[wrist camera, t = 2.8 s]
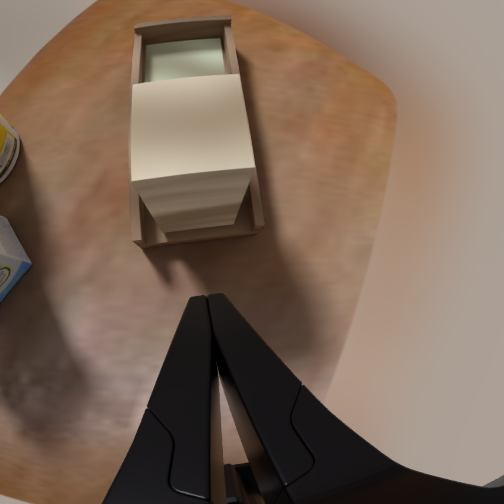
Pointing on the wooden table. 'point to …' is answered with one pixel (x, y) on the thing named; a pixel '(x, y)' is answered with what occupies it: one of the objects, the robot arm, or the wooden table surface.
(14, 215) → the wooden table surface
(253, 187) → the box
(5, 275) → the medicine box
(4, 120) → the supplement bottle
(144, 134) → the cream block
